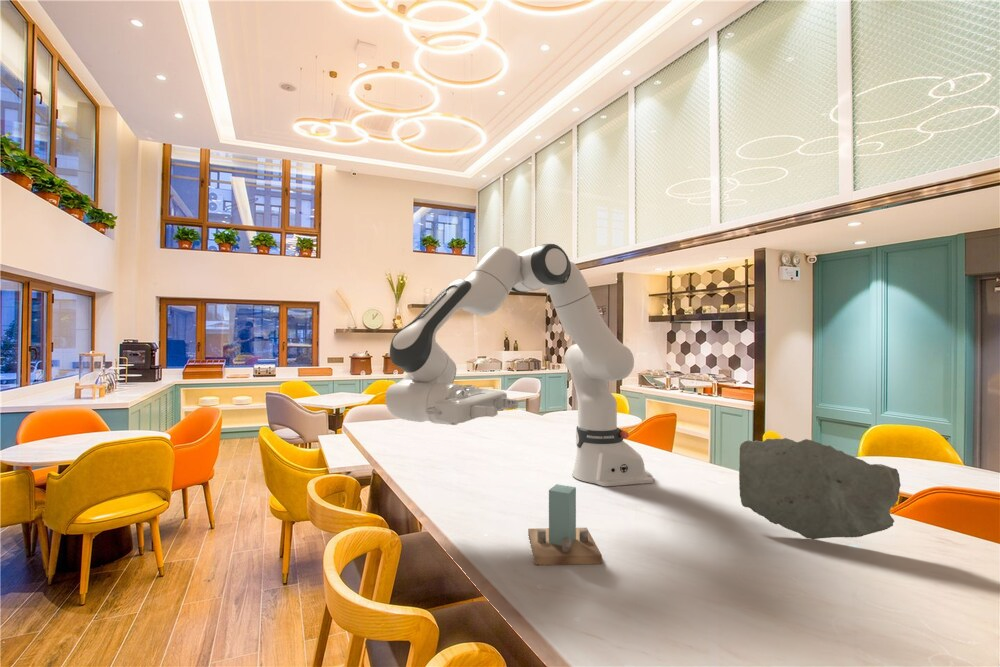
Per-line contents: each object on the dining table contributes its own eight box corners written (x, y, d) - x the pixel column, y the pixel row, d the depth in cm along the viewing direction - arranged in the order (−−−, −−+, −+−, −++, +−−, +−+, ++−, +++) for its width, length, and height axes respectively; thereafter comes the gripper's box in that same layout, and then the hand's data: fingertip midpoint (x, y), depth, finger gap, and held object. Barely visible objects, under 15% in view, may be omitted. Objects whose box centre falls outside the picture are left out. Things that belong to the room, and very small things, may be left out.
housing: (586, 534, 96) (586, 517, 96) (601, 563, 84) (601, 544, 84) (528, 535, 95) (528, 518, 95) (535, 565, 83) (535, 545, 83)
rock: (895, 547, 90) (895, 443, 90) (904, 561, 84) (904, 450, 84) (739, 521, 103) (739, 430, 103) (738, 531, 97) (738, 435, 97)
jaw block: (548, 542, 89) (548, 490, 89) (556, 534, 92) (556, 484, 92) (569, 547, 87) (568, 493, 87) (575, 539, 90) (575, 487, 90)
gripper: (420, 395, 92) (481, 399, 86) (473, 384, 110) (526, 386, 104) (420, 427, 92) (481, 433, 86) (473, 411, 110) (527, 415, 104)
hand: (506, 408), depth 95 cm, fingers open, 8 cm apart
